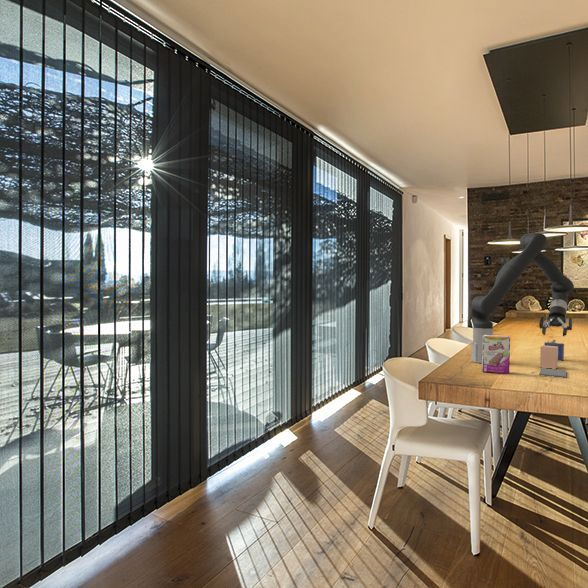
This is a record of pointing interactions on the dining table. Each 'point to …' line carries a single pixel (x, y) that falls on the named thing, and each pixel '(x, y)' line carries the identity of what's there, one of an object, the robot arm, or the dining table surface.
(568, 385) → the dining table surface
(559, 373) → the rubber mat
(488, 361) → the candy bar box
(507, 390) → the dining table surface
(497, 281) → the robot arm
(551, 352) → the pinkish tan block
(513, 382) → the dining table surface
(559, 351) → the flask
